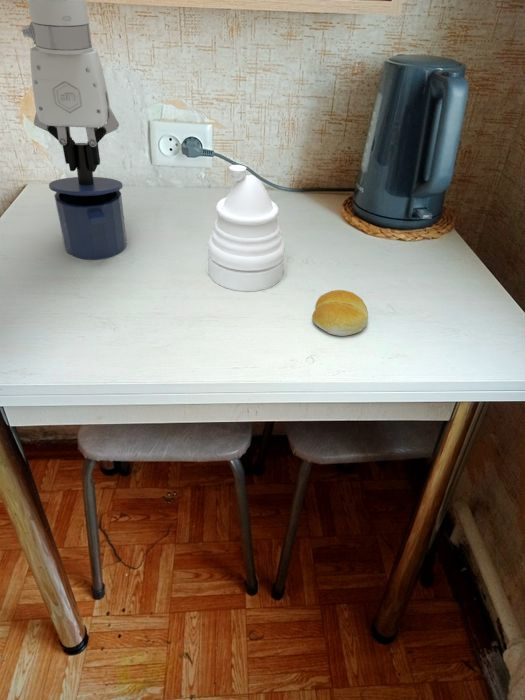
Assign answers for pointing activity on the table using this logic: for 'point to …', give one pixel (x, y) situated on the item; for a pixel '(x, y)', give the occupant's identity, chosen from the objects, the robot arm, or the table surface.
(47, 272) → the table surface
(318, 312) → the bread roll
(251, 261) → the honey pot
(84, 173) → the lid
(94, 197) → the pot
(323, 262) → the table surface
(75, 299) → the table surface
